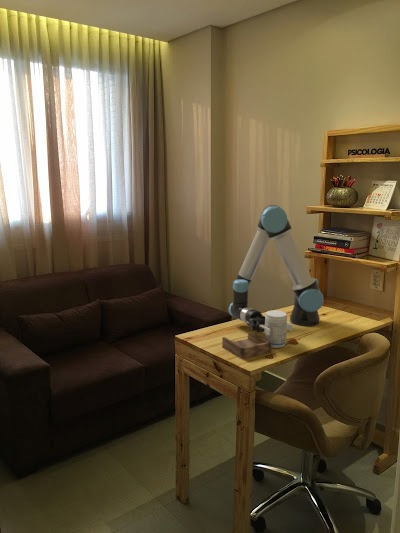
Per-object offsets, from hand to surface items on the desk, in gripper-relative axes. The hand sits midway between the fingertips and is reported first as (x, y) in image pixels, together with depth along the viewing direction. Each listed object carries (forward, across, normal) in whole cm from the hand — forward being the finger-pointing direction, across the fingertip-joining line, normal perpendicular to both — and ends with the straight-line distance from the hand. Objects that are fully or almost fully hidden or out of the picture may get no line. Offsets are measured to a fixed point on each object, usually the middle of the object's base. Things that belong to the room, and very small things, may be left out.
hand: (281, 330), depth 199 cm
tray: (-5, +15, -8) cm, 18 cm away
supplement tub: (-4, 0, -8) cm, 9 cm away
